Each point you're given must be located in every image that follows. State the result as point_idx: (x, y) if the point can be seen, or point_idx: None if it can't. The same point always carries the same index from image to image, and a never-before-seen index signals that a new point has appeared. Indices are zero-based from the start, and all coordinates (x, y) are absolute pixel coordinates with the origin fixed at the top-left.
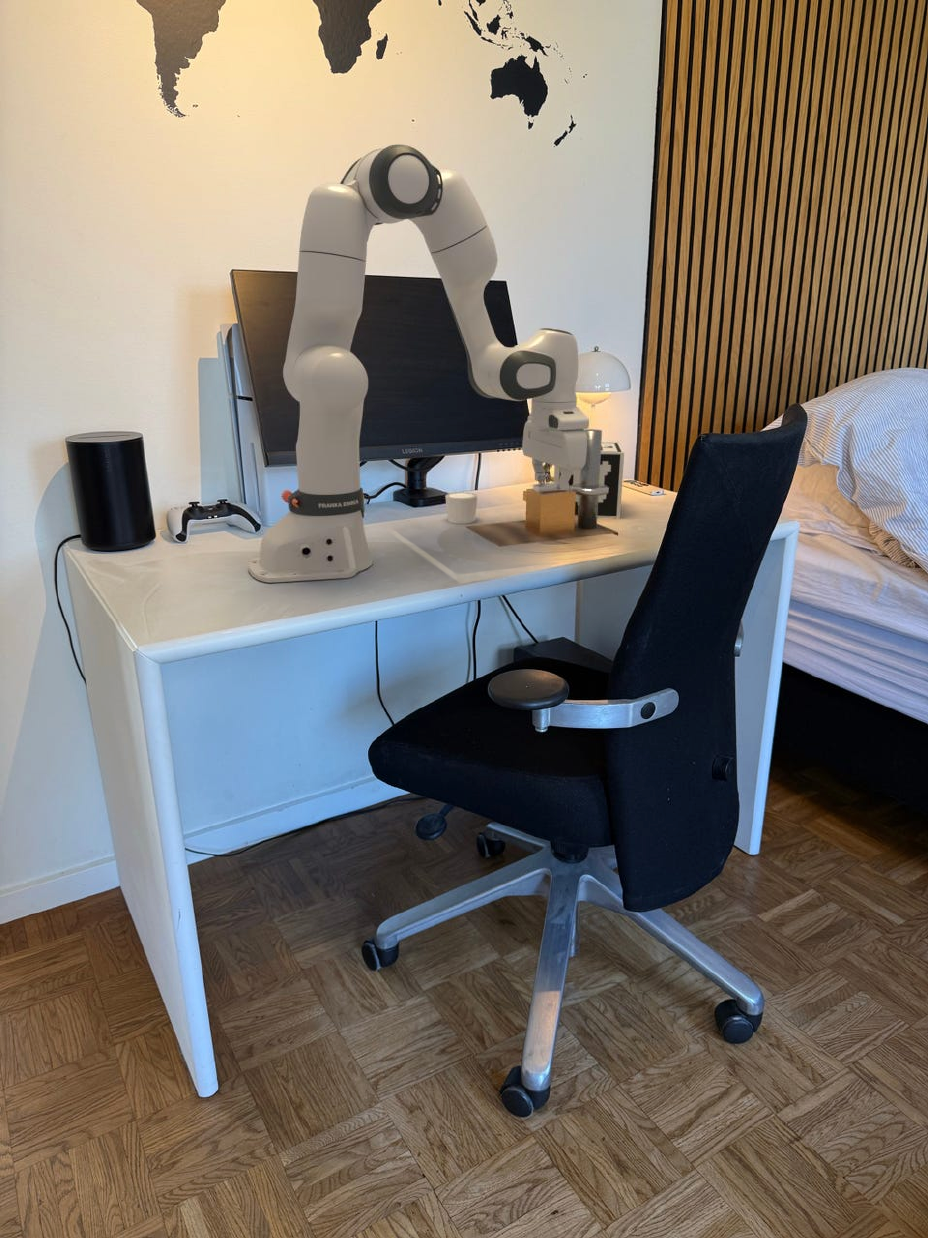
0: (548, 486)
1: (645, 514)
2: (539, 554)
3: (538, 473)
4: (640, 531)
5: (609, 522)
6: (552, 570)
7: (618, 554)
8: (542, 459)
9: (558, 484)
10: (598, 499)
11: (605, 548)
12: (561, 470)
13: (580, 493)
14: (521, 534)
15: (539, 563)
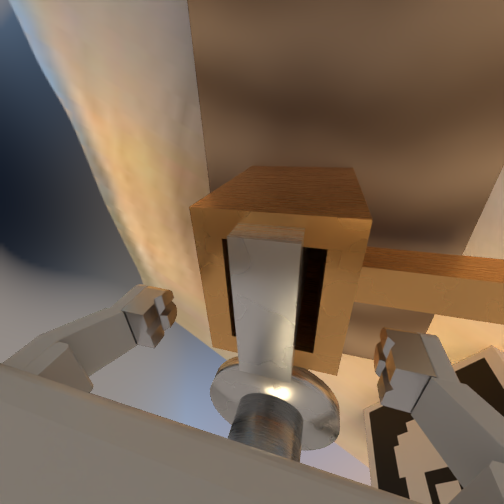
0: (233, 288)
1: (362, 444)
2: (166, 108)
3: (395, 369)
4: None
5: (350, 384)
6: (44, 72)
7: (145, 262)
8: (229, 469)
9: (140, 298)
10: (407, 440)
11: (183, 268)
12: (37, 353)
13: (235, 360)
14: (299, 120)
15: (93, 65)
